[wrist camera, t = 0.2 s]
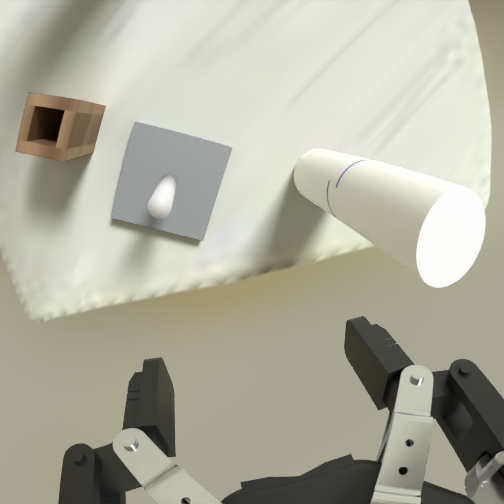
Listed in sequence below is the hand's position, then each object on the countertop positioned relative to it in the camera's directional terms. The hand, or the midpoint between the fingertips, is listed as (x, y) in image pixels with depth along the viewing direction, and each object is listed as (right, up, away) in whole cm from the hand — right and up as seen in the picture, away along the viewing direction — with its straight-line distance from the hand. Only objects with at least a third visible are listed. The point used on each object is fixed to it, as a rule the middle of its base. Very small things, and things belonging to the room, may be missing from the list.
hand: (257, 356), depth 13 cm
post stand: (-10, +13, +24) cm, 30 cm away
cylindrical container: (+9, +15, +28) cm, 33 cm away
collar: (-22, +20, +19) cm, 35 cm away
